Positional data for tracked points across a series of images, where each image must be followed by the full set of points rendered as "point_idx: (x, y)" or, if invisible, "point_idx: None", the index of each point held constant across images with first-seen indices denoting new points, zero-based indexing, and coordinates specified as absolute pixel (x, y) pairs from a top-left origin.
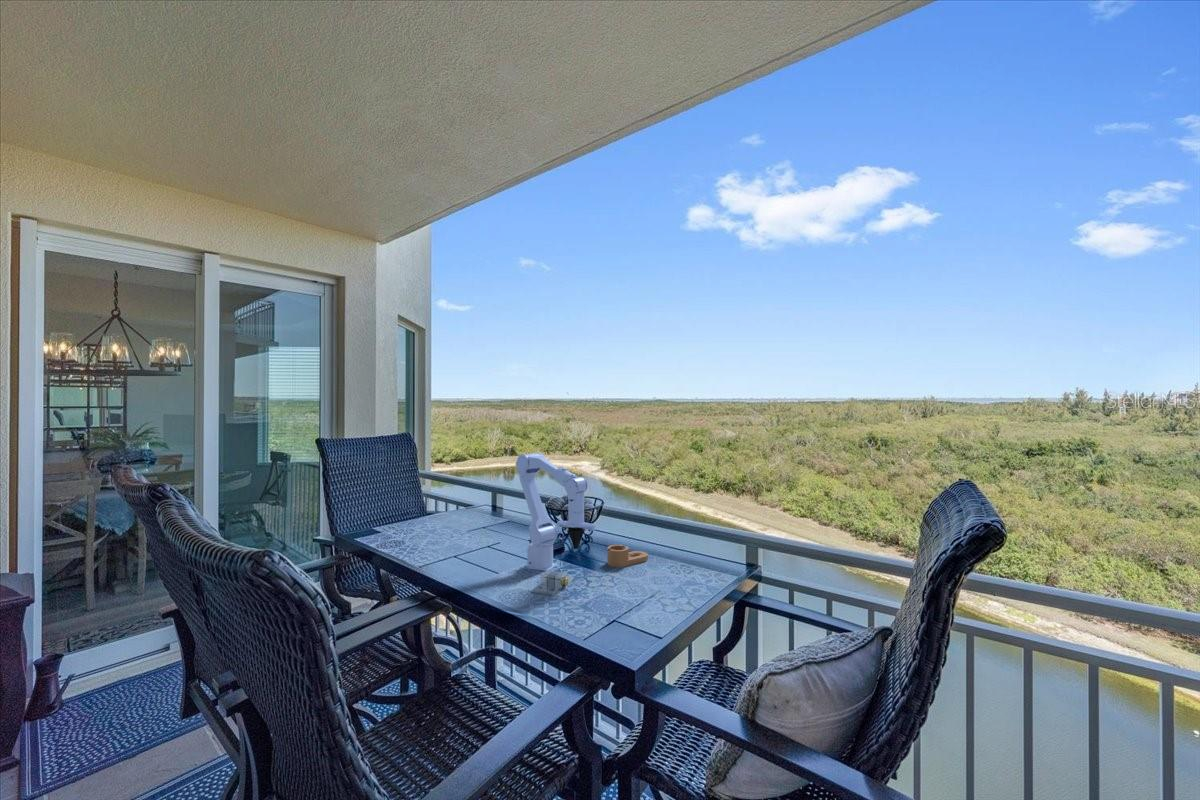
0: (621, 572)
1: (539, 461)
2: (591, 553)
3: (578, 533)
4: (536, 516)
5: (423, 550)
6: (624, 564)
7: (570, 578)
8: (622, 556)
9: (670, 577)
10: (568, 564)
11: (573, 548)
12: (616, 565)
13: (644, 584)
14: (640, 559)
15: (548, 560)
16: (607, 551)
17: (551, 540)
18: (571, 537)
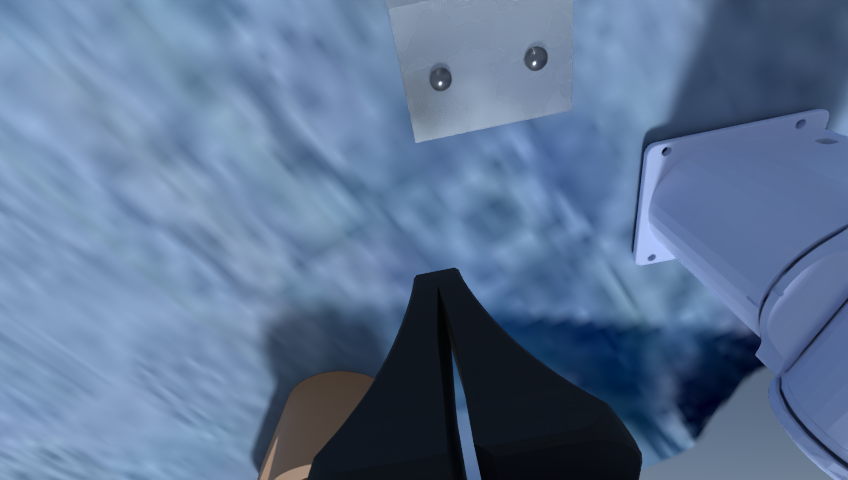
0: (255, 353)
1: None
2: None
3: (334, 452)
4: None
5: None
6: (284, 413)
7: (413, 97)
8: (278, 448)
9: (23, 415)
10: (575, 300)
11: (455, 268)
12: (311, 389)
13: (12, 293)
14: (259, 477)
15: (694, 203)
16: None
17: (798, 346)
18: (499, 353)
